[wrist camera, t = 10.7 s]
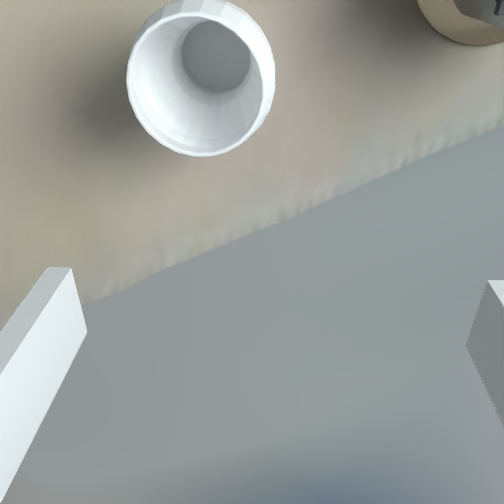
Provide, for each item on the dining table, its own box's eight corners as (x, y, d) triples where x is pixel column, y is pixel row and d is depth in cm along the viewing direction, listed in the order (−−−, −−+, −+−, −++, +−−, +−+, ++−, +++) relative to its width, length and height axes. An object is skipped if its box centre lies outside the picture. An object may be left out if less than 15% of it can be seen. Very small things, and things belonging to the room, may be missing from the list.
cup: (226, -43, 40) (201, -41, 28) (299, 60, 44) (306, 104, 32) (140, 40, 44) (84, 76, 32) (215, 128, 48) (191, 191, 36)
